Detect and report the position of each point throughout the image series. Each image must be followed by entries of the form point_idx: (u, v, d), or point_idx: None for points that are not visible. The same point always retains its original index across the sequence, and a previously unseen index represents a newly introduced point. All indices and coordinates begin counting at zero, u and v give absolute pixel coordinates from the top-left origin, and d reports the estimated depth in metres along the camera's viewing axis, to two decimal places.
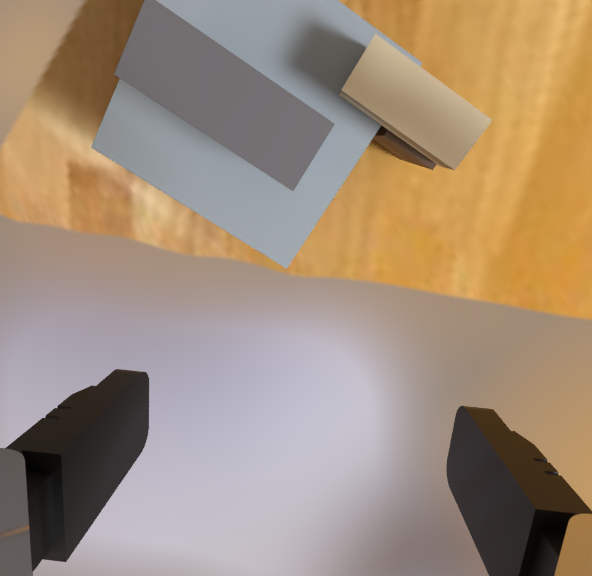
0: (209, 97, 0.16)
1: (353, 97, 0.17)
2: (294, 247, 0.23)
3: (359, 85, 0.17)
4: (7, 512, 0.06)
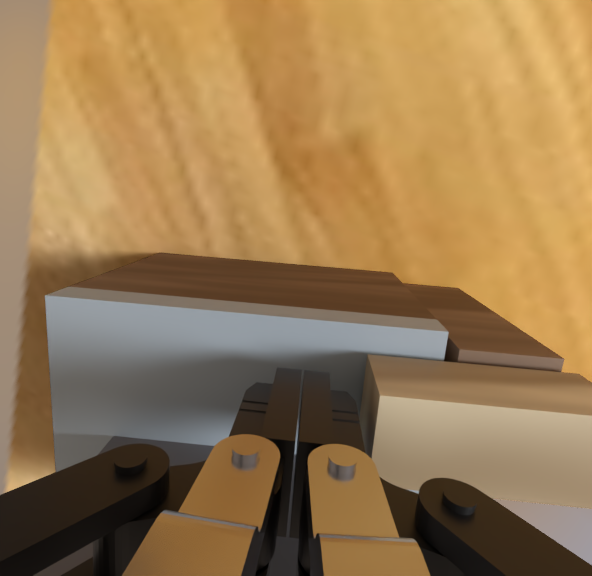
0: None
1: None
2: None
3: (393, 468, 0.10)
4: (251, 502, 0.06)
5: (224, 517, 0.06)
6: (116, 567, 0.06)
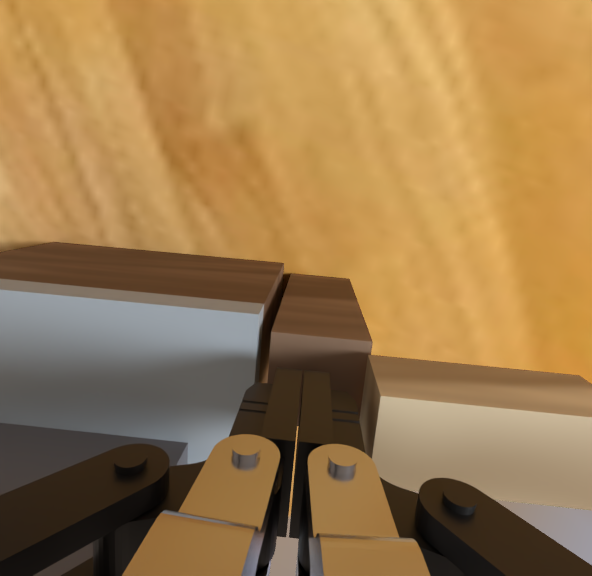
0: None
1: None
2: None
3: (394, 469, 0.10)
4: (251, 503, 0.06)
5: (224, 517, 0.06)
6: (116, 567, 0.06)
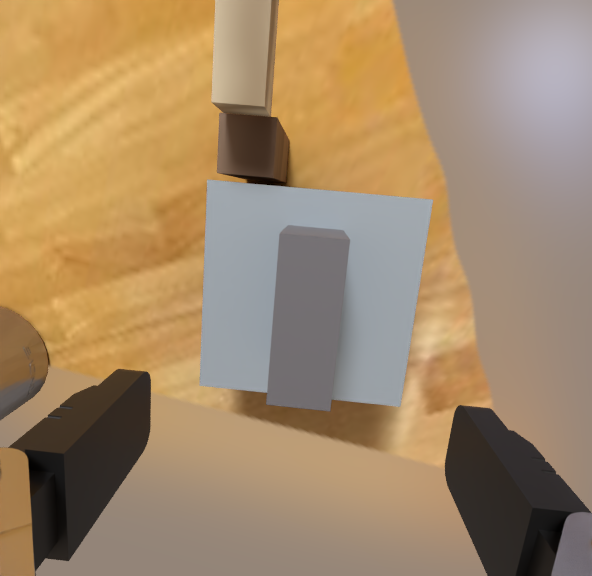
0: (310, 338, 0.18)
1: (264, 92, 0.18)
2: (407, 203, 0.22)
3: (253, 92, 0.18)
4: (10, 511, 0.06)
5: None
6: None
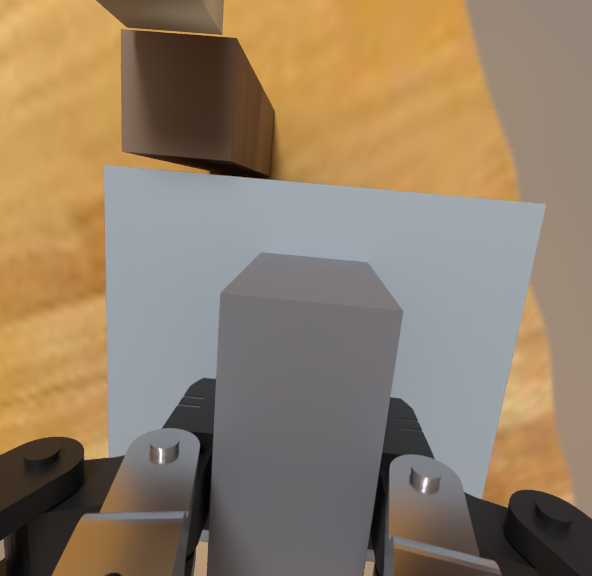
0: (301, 536, 0.08)
1: None
2: (495, 210, 0.11)
3: None
4: (176, 492, 0.06)
5: (149, 511, 0.06)
6: (34, 559, 0.06)
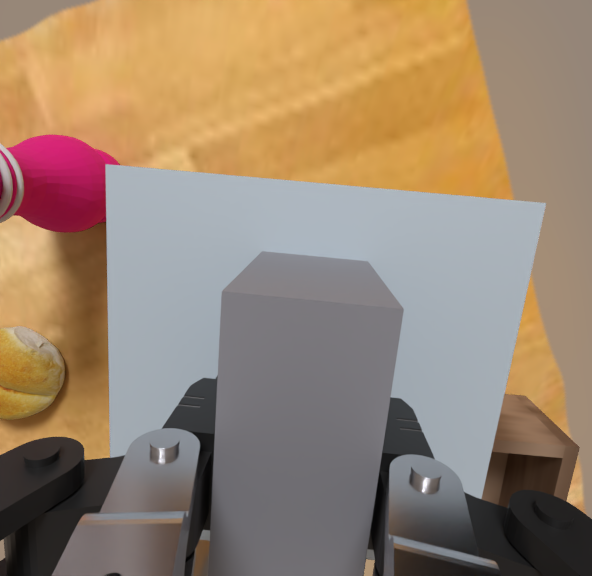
0: (302, 533, 0.08)
1: None
2: (496, 209, 0.11)
3: None
4: (176, 492, 0.06)
5: (149, 511, 0.06)
6: (34, 559, 0.06)
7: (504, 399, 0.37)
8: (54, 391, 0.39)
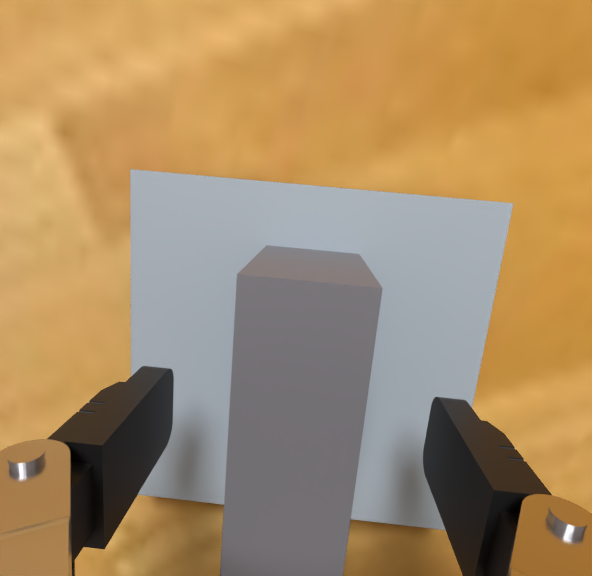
0: (301, 474, 0.09)
1: None
2: (470, 209, 0.13)
3: None
4: (51, 502, 0.06)
5: None
6: None
7: None
8: None
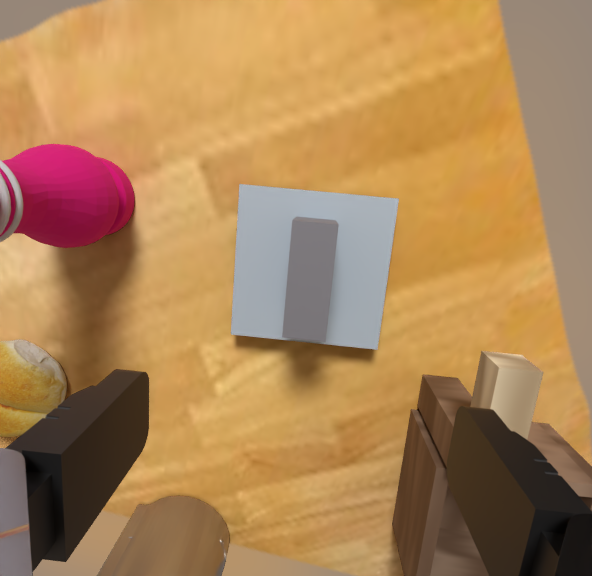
0: (312, 291, 0.27)
1: None
2: (381, 201, 0.31)
3: None
4: (7, 512, 0.06)
5: None
6: None
7: None
8: None
